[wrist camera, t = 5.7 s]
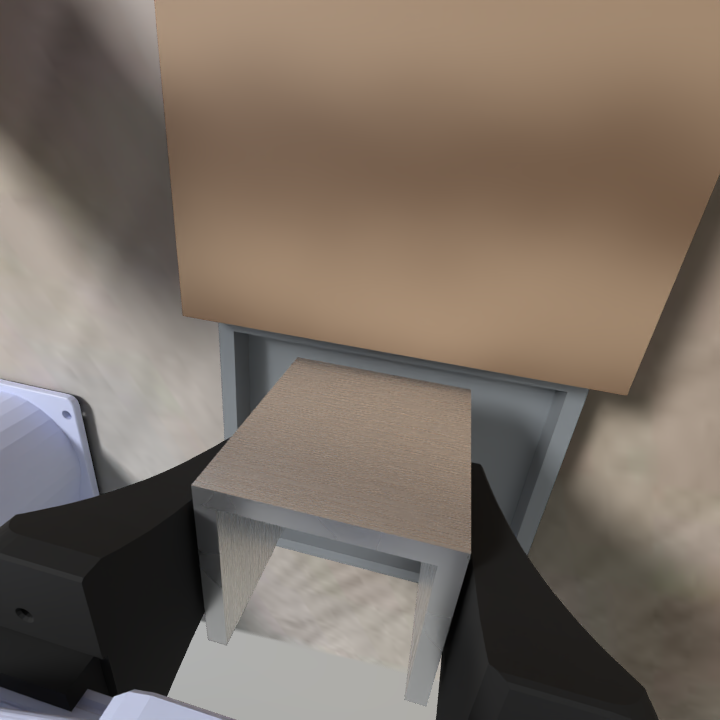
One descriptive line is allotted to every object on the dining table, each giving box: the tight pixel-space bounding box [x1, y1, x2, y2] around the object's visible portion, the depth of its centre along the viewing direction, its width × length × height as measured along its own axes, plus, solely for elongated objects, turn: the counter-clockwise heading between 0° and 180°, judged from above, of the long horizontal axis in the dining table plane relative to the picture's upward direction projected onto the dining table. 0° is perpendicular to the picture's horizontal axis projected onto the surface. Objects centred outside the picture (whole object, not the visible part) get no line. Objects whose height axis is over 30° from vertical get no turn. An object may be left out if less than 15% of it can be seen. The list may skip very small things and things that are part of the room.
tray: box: [218, 322, 589, 583], centre depth 18 cm, size 11×13×2 cm
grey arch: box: [191, 357, 471, 706], centre depth 12 cm, size 5×5×6 cm
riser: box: [154, 0, 720, 396], centre depth 13 cm, size 10×14×3 cm
